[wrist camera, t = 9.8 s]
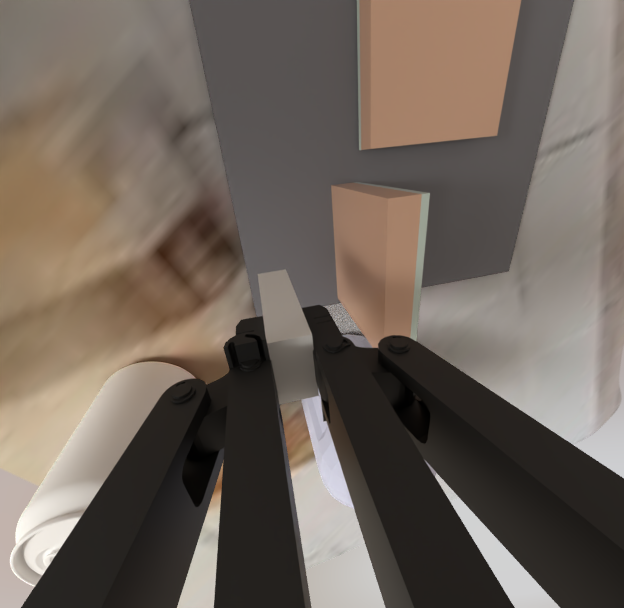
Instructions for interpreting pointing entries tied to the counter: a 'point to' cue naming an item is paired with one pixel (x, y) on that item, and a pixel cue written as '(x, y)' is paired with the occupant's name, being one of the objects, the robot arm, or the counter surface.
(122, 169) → the counter surface
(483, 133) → the tile
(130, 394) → the beverage can
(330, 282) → the mat
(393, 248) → the tile
